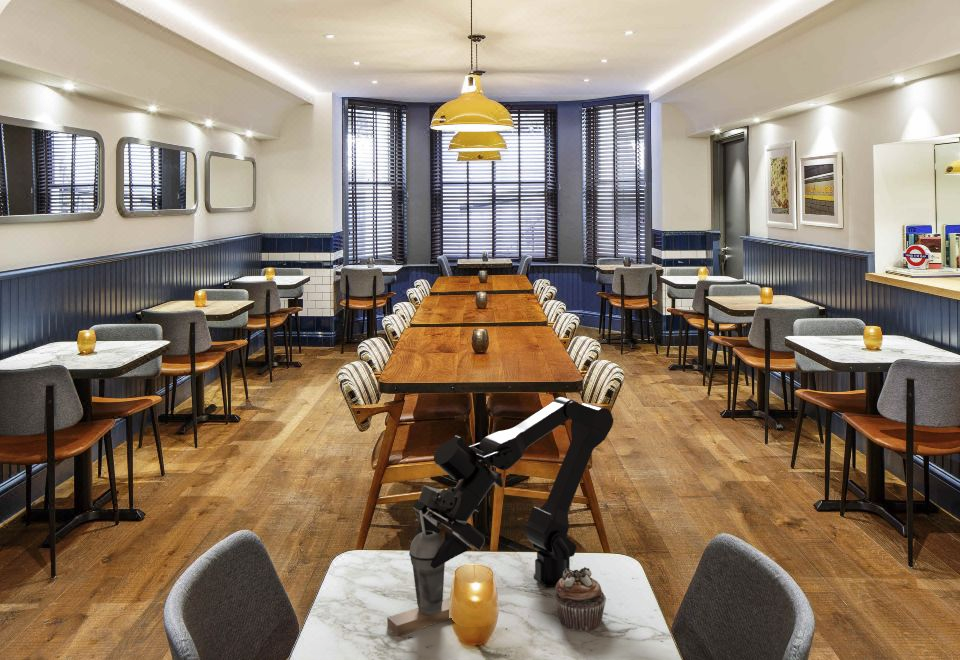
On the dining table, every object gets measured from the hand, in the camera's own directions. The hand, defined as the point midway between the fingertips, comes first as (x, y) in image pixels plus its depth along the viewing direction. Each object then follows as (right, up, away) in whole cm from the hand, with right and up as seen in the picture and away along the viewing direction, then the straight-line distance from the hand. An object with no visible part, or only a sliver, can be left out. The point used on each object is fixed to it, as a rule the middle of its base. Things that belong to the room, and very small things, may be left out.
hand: (421, 560), depth 159 cm
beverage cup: (+1, -10, +2) cm, 11 cm away
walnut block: (+1, -12, +2) cm, 12 cm away
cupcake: (+30, -12, +1) cm, 33 cm away
